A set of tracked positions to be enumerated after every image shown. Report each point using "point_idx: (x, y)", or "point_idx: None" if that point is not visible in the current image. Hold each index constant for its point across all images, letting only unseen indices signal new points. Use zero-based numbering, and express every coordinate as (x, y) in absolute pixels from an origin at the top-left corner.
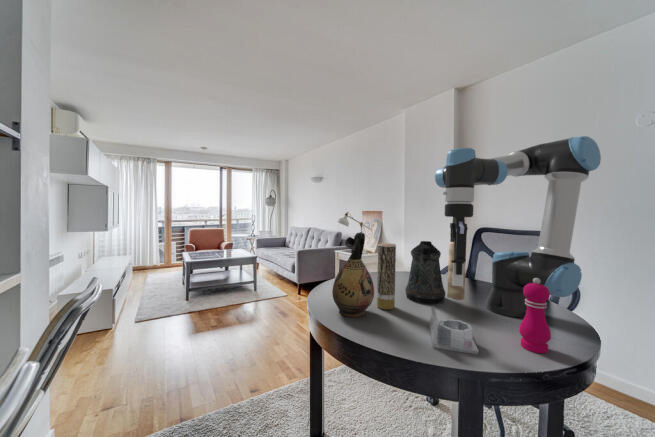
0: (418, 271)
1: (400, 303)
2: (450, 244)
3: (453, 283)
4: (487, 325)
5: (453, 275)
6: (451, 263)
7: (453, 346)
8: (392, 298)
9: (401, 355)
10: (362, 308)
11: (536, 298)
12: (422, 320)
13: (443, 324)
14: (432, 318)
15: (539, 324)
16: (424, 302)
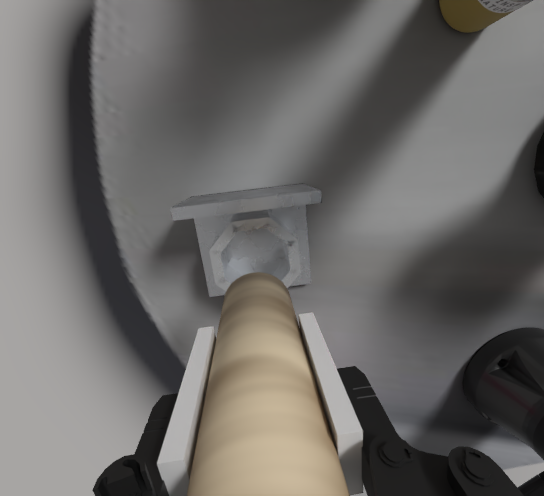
0: None
1: (527, 54)
2: None
3: (196, 338)
4: (390, 320)
5: (186, 370)
6: (208, 429)
7: (203, 246)
8: (484, 2)
9: (103, 118)
10: None
11: None
12: (373, 155)
13: (244, 230)
14: (222, 200)
15: None
16: (541, 150)
